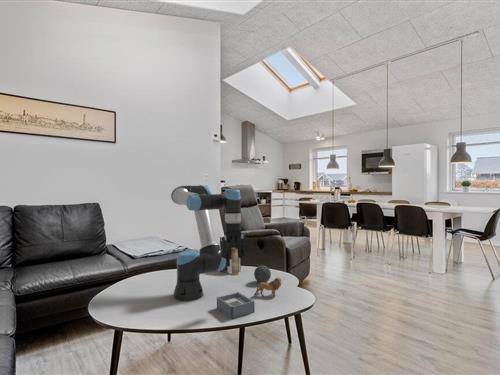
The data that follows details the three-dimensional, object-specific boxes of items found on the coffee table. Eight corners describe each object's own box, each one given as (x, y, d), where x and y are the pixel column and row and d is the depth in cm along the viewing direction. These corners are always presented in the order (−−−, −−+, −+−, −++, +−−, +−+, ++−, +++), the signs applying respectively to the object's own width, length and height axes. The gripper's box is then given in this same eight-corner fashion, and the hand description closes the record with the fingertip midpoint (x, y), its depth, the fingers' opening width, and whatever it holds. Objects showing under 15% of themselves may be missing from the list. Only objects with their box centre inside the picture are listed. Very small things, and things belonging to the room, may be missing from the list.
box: (216, 307, 139) (216, 297, 139) (238, 302, 146) (238, 292, 146) (231, 318, 127) (231, 307, 127) (254, 312, 134) (254, 301, 134)
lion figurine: (280, 292, 158) (280, 276, 158) (282, 296, 153) (282, 279, 153) (253, 294, 157) (253, 277, 157) (254, 297, 152) (254, 280, 152)
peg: (228, 274, 139) (227, 248, 139) (235, 272, 141) (235, 247, 141) (232, 276, 135) (232, 250, 135) (240, 274, 137) (239, 248, 138)
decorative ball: (256, 285, 170) (256, 268, 170) (252, 280, 180) (252, 264, 180) (273, 284, 172) (272, 267, 172) (268, 279, 182) (267, 263, 182)
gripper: (220, 224, 131) (221, 277, 130) (252, 221, 140) (253, 270, 140) (213, 223, 137) (214, 273, 136) (243, 220, 146) (244, 267, 146)
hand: (234, 272), depth 138 cm, fingers closed on peg, 4 cm apart
